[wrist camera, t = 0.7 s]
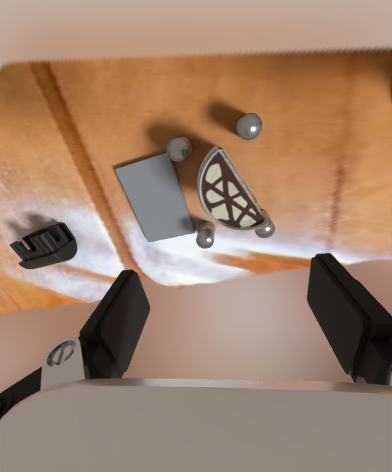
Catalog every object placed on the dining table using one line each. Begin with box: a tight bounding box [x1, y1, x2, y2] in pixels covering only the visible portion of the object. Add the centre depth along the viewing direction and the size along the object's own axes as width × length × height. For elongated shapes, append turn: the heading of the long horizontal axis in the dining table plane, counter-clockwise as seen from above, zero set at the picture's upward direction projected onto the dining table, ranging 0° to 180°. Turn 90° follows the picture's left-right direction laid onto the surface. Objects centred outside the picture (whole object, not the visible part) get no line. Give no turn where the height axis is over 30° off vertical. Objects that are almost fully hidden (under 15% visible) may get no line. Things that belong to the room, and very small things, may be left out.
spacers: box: [166, 113, 275, 248], centre depth 31 cm, size 13×18×5 cm
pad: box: [115, 153, 195, 242], centre depth 36 cm, size 10×15×1 cm, turn 17°
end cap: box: [10, 223, 77, 269], centre depth 42 cm, size 10×7×7 cm
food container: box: [197, 145, 268, 231], centre depth 29 cm, size 12×6×10 cm, turn 38°
